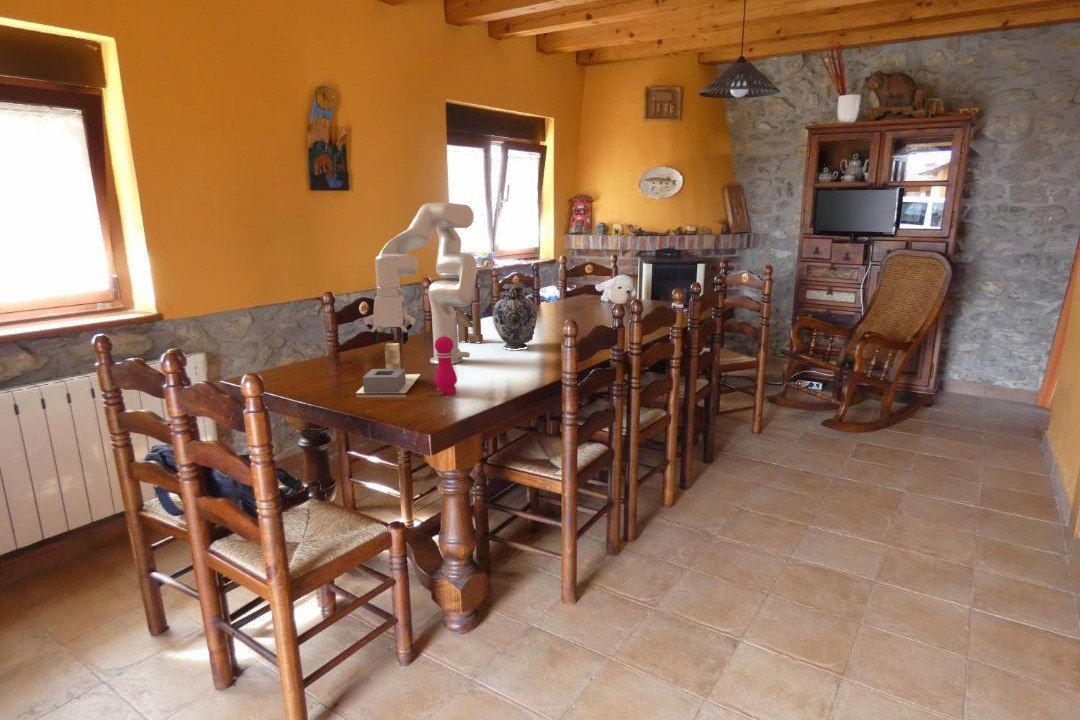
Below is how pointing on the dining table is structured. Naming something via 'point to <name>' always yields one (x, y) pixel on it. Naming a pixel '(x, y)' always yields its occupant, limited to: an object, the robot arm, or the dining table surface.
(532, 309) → the decorative vase
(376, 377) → the board
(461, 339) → the brown braced post frame
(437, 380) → the pink bowling pin
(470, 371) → the dining table surface
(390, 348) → the square wooden peg
